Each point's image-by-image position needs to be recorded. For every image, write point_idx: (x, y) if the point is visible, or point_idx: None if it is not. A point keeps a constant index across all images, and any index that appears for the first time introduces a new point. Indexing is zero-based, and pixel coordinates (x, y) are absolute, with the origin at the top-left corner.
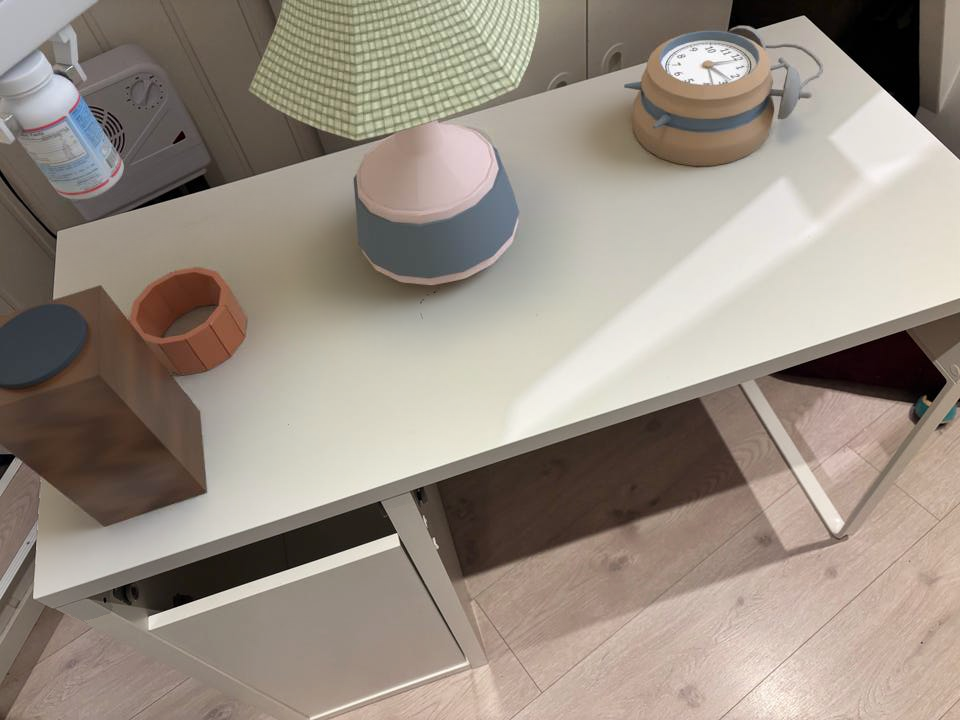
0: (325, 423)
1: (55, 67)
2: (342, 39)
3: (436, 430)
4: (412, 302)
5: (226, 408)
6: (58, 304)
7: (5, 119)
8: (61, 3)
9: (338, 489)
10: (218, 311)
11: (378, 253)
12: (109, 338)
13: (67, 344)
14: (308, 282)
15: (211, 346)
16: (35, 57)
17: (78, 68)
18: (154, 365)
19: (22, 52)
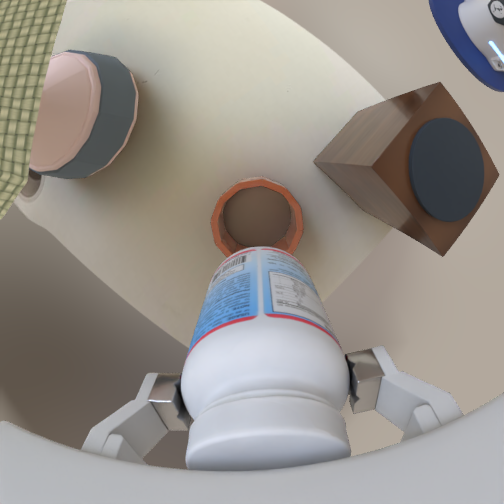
0: (273, 68)
1: (178, 425)
2: None
3: (238, 9)
4: (148, 86)
5: (300, 144)
6: (415, 184)
7: (377, 378)
8: (50, 481)
9: (308, 36)
10: (246, 183)
11: (126, 109)
12: (401, 120)
13: (442, 129)
14: (168, 174)
15: (270, 180)
16: (214, 456)
17: (145, 391)
18: (343, 151)
19: (250, 483)
